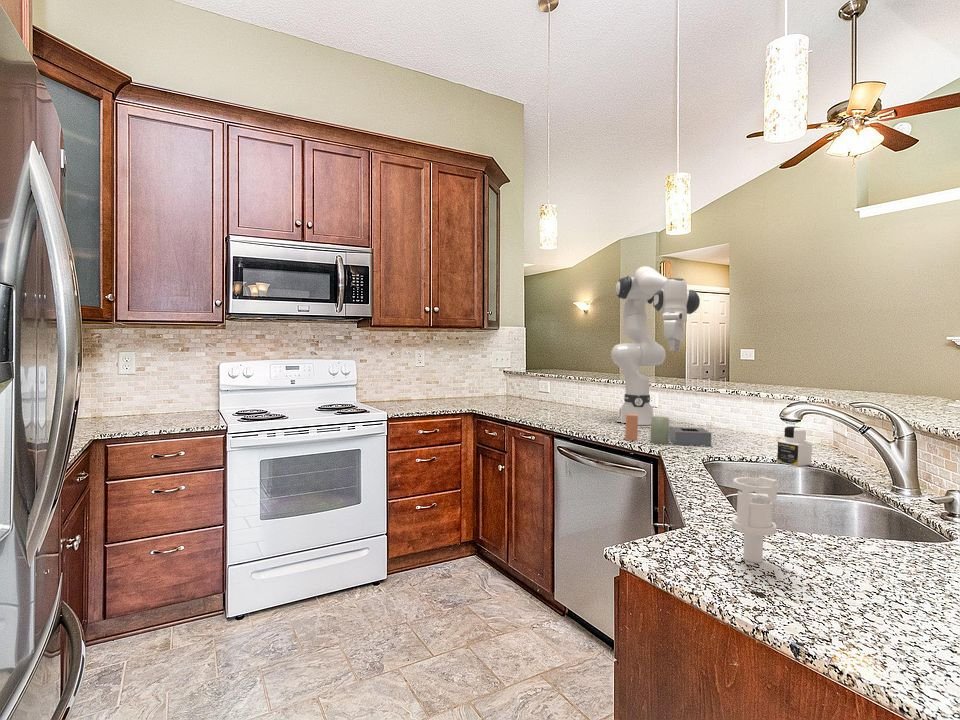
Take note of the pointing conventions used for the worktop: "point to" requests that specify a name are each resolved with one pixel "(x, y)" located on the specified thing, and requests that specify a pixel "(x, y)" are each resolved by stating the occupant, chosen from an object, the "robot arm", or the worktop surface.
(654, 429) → the green rectangular block
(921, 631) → the worktop surface
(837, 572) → the worktop surface
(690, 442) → the bore block
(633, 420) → the square bit
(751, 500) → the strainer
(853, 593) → the worktop surface
